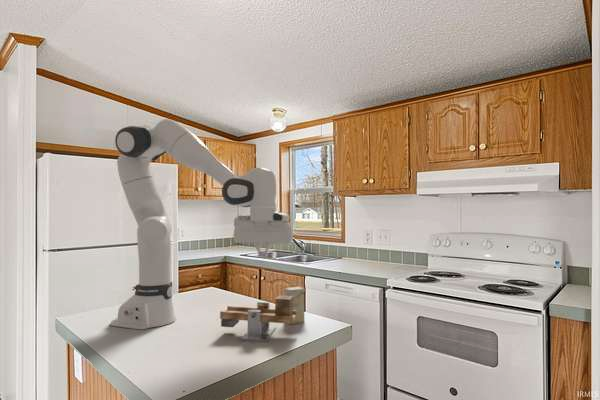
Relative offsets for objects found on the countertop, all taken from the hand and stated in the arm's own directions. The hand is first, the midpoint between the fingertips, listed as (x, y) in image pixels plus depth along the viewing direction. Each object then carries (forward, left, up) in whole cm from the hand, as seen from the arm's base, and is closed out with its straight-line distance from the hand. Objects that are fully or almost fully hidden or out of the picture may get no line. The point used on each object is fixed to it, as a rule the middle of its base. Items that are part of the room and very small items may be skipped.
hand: (262, 256), depth 125 cm
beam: (-1, -3, -22) cm, 23 cm away
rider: (+8, -3, -19) cm, 21 cm away
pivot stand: (0, -3, -25) cm, 25 cm away
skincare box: (+9, +12, -25) cm, 29 cm away
